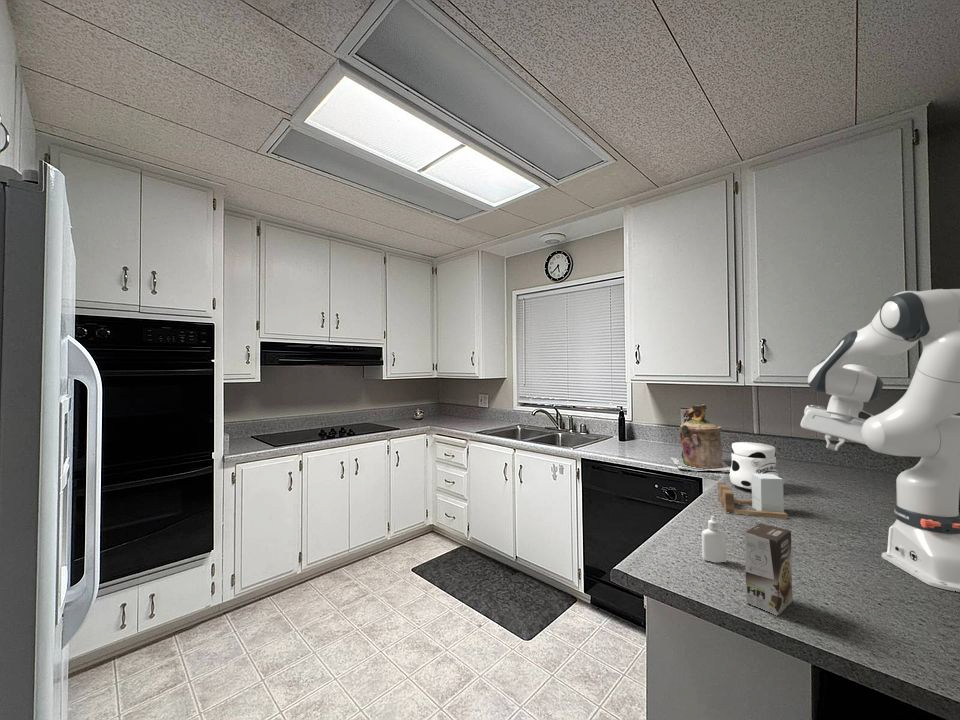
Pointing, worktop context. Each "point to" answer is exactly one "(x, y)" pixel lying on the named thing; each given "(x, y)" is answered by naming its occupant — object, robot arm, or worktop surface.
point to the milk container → (751, 462)
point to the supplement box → (767, 493)
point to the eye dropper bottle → (713, 542)
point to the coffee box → (768, 568)
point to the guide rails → (755, 512)
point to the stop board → (725, 497)
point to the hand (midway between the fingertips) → (831, 449)
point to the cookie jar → (701, 442)
